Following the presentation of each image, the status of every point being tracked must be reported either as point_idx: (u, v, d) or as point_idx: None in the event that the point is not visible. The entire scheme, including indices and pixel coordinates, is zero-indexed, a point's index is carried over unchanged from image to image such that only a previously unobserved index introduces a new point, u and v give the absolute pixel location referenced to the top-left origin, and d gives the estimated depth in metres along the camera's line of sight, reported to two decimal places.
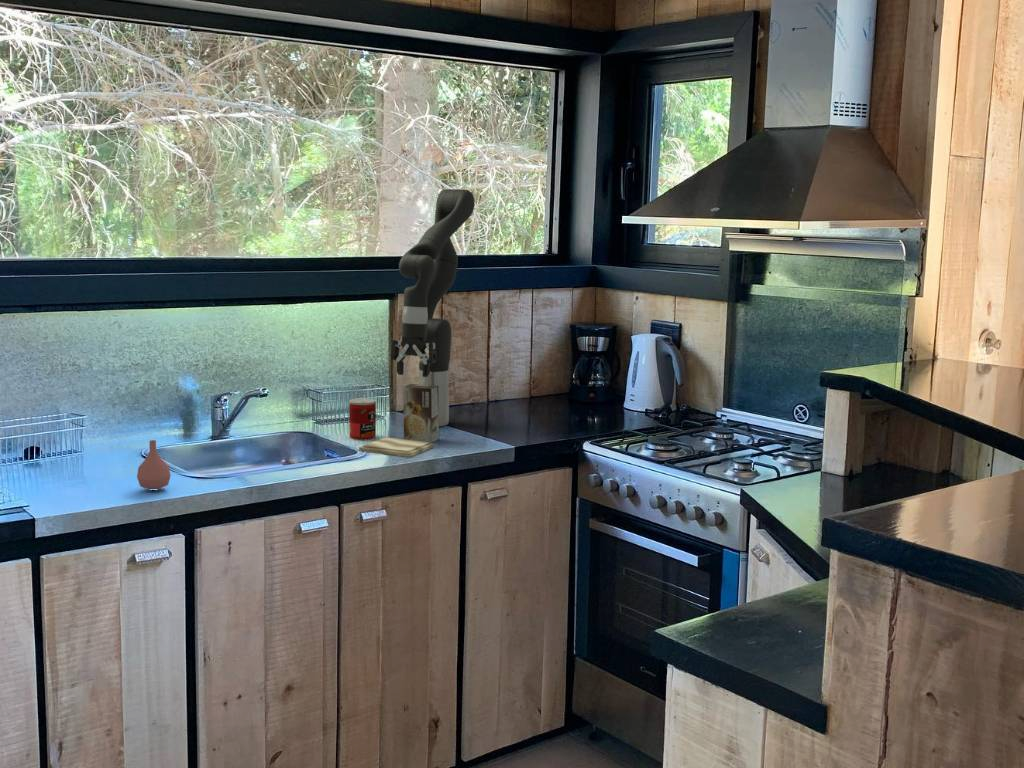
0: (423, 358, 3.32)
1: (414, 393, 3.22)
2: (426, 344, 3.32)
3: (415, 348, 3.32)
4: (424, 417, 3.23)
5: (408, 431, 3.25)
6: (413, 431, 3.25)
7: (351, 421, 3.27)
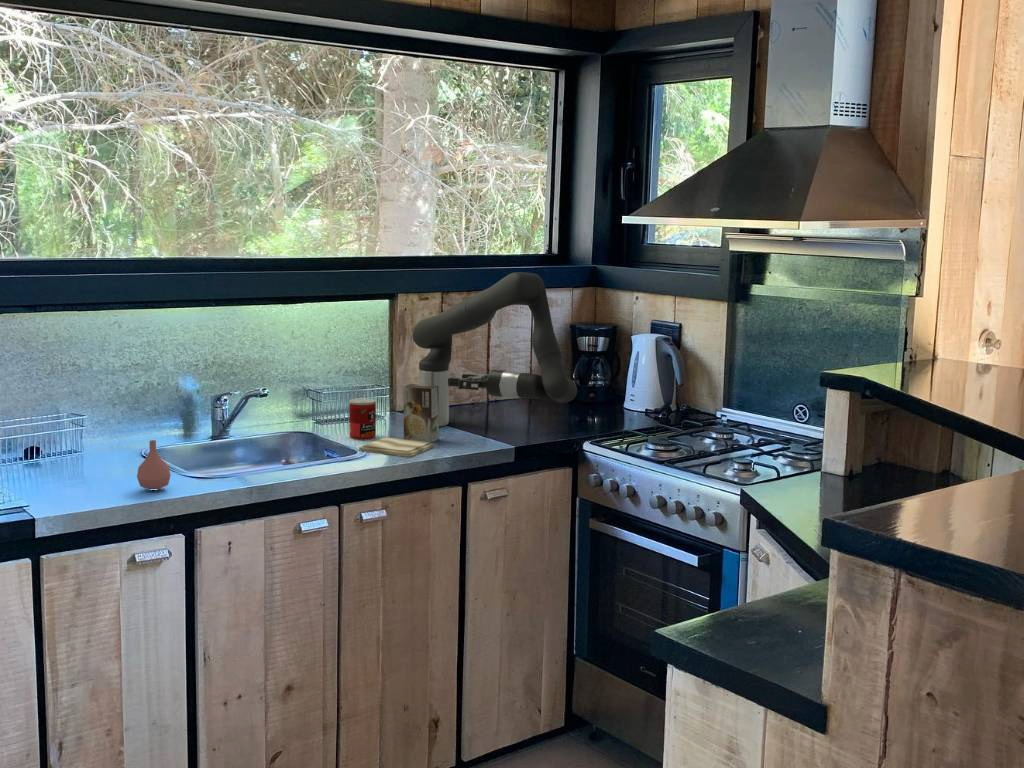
0: None
1: (414, 393, 3.22)
2: None
3: None
4: (424, 417, 3.23)
5: (408, 431, 3.25)
6: (413, 431, 3.25)
7: (351, 421, 3.27)
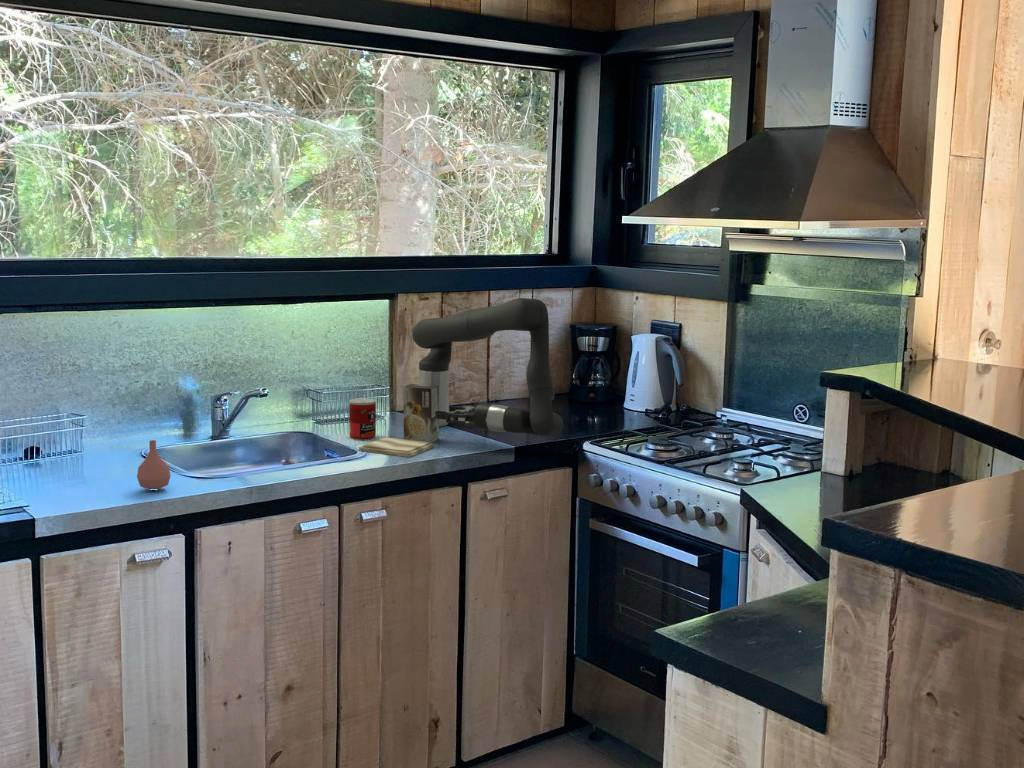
0: None
1: (414, 393, 3.22)
2: None
3: None
4: (424, 417, 3.23)
5: (408, 431, 3.25)
6: (413, 431, 3.25)
7: (351, 421, 3.27)
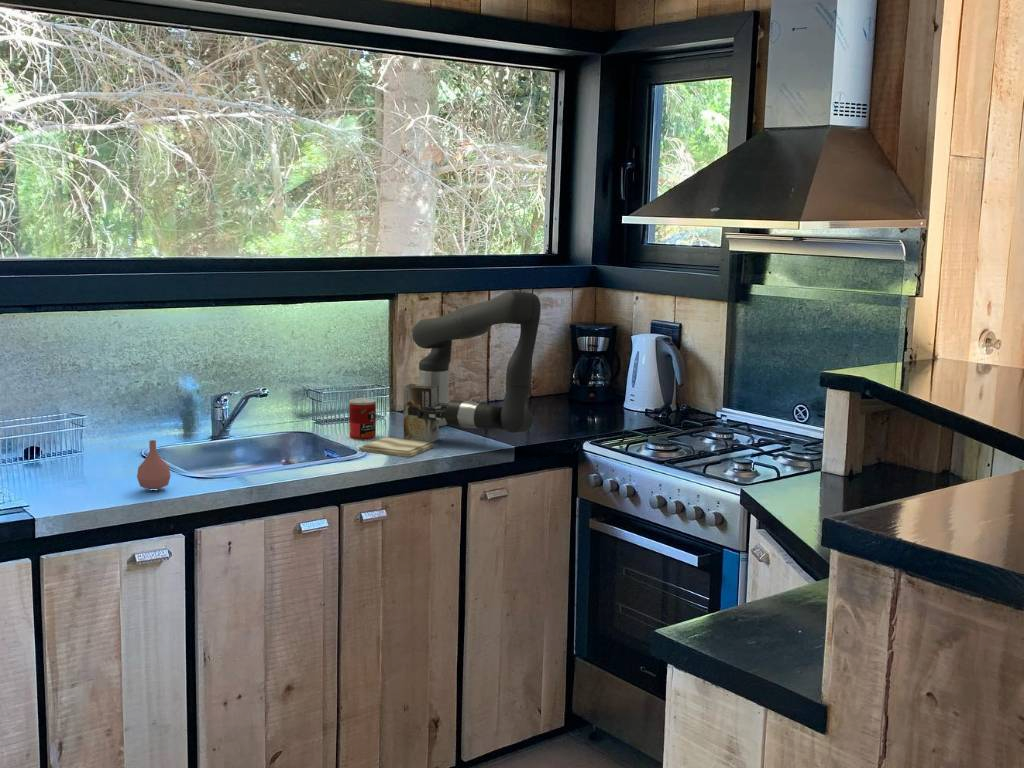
0: None
1: (414, 392, 3.23)
2: None
3: None
4: None
5: (408, 431, 3.25)
6: (413, 431, 3.25)
7: (351, 421, 3.27)
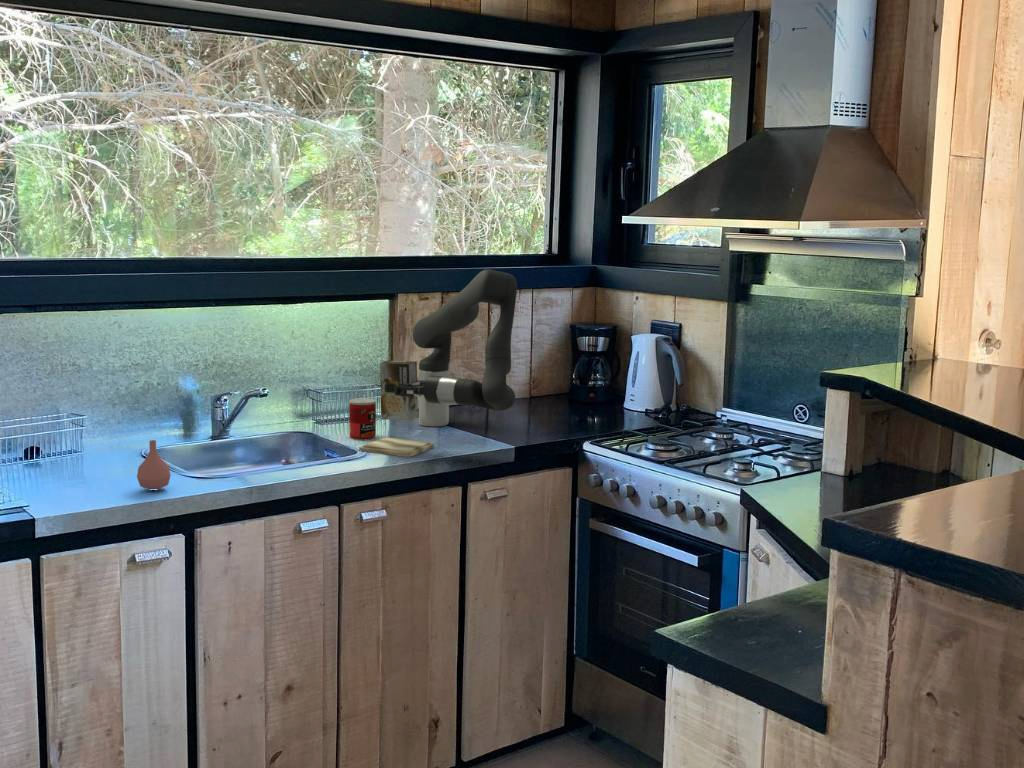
0: None
1: (391, 369, 3.09)
2: None
3: None
4: None
5: (385, 409, 3.11)
6: (390, 409, 3.11)
7: (351, 421, 3.27)
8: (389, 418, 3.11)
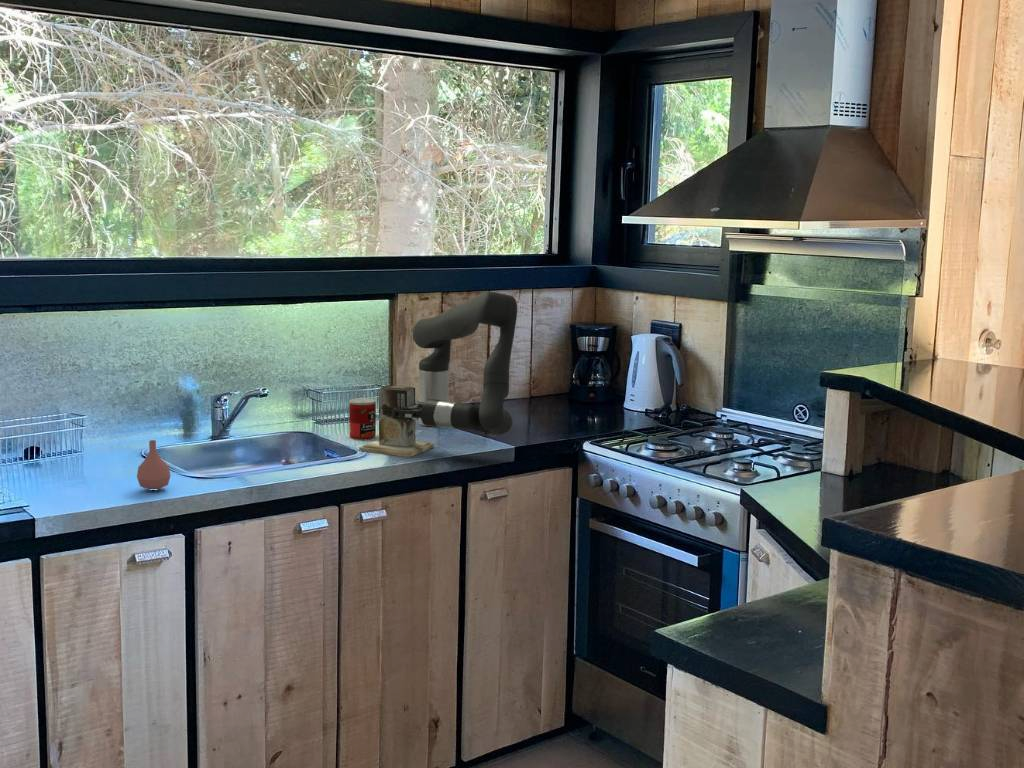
0: None
1: (389, 395, 3.10)
2: None
3: None
4: (400, 420, 3.10)
5: (383, 435, 3.12)
6: (388, 435, 3.12)
7: (351, 421, 3.27)
8: (387, 444, 3.12)
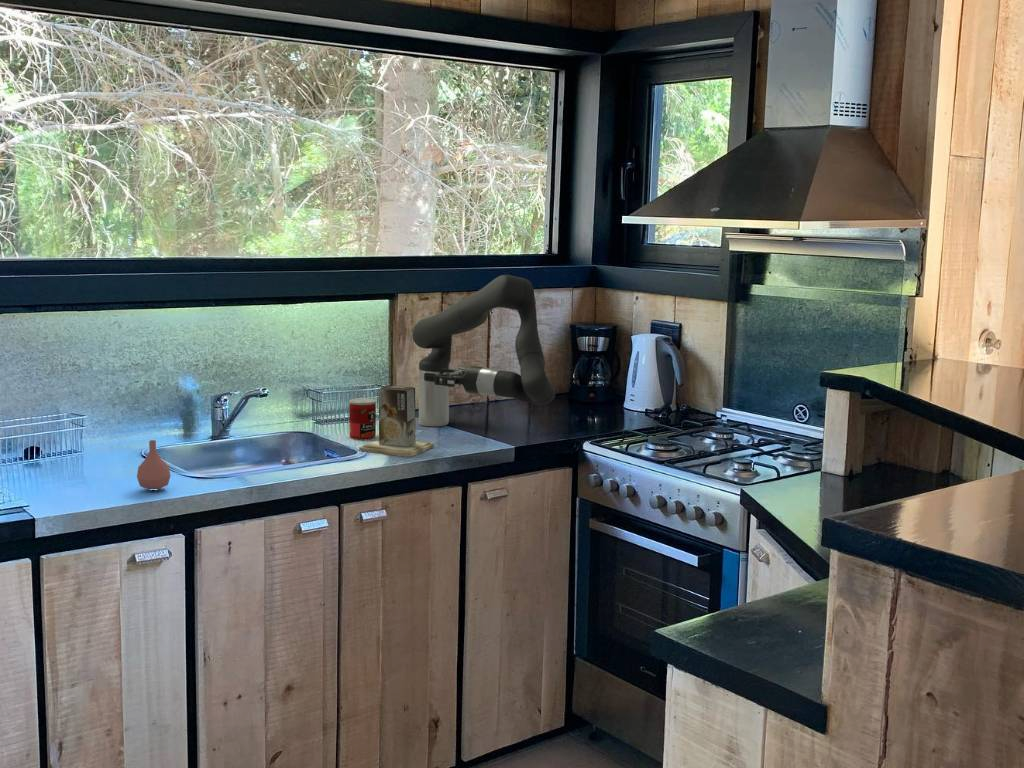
0: None
1: (389, 395, 3.10)
2: None
3: None
4: (400, 420, 3.10)
5: (383, 435, 3.12)
6: (388, 435, 3.12)
7: (351, 421, 3.27)
8: (387, 444, 3.12)
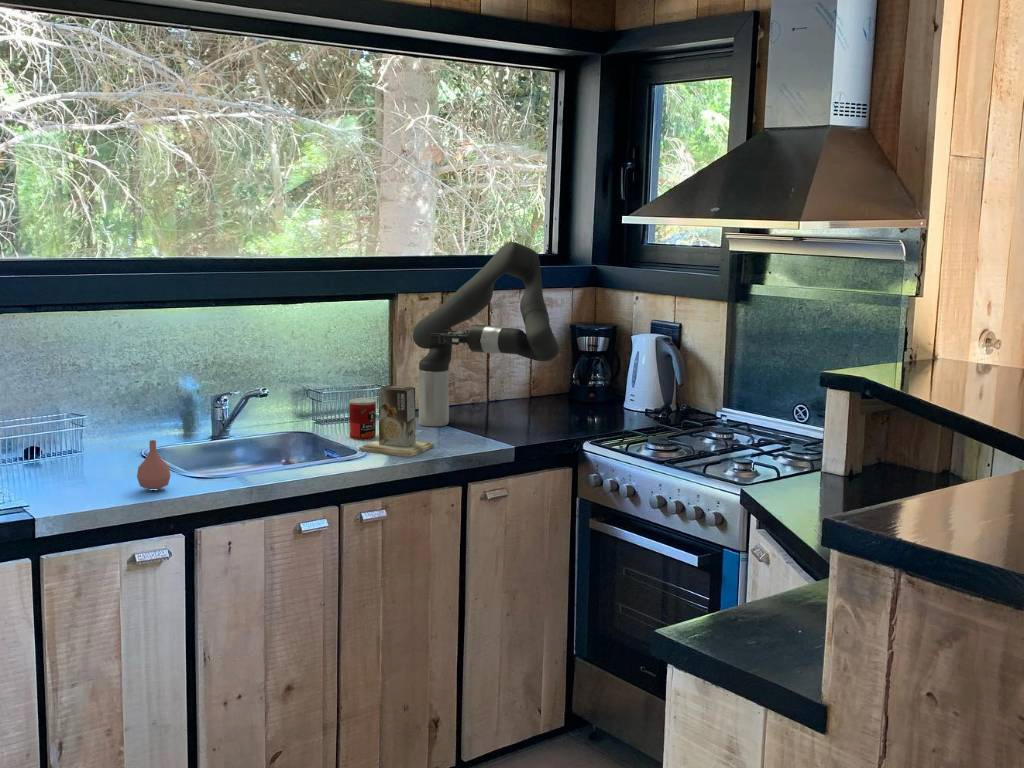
0: None
1: (389, 395, 3.10)
2: None
3: None
4: (400, 420, 3.10)
5: (383, 435, 3.12)
6: (388, 435, 3.12)
7: (351, 421, 3.27)
8: (387, 444, 3.12)
